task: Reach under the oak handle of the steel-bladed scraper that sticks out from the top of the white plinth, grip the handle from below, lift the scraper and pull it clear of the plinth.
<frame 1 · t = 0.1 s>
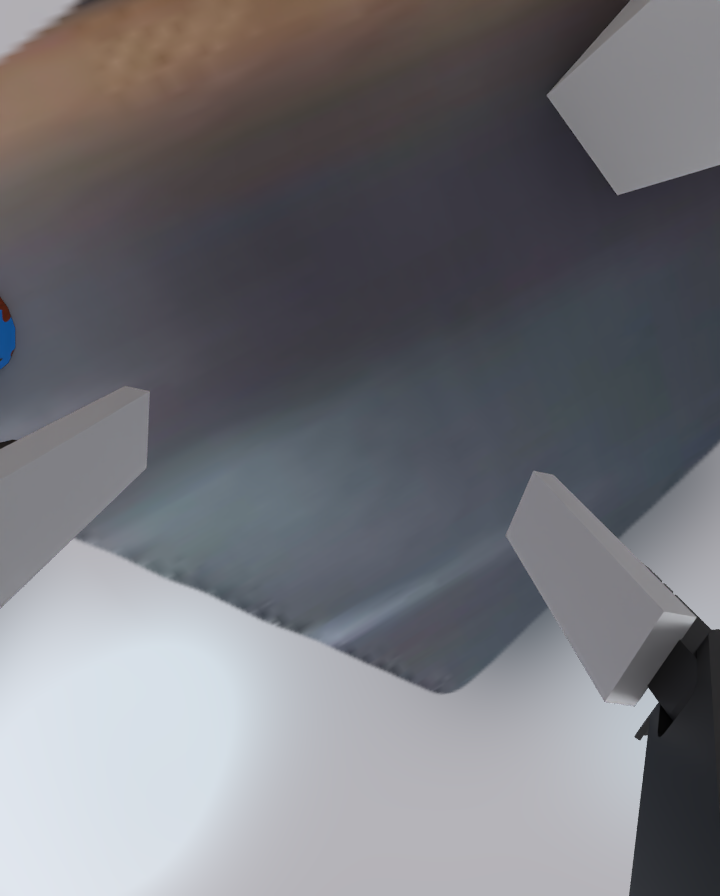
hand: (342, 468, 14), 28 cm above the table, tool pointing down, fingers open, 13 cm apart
plinth: (645, 80, 33), on the table
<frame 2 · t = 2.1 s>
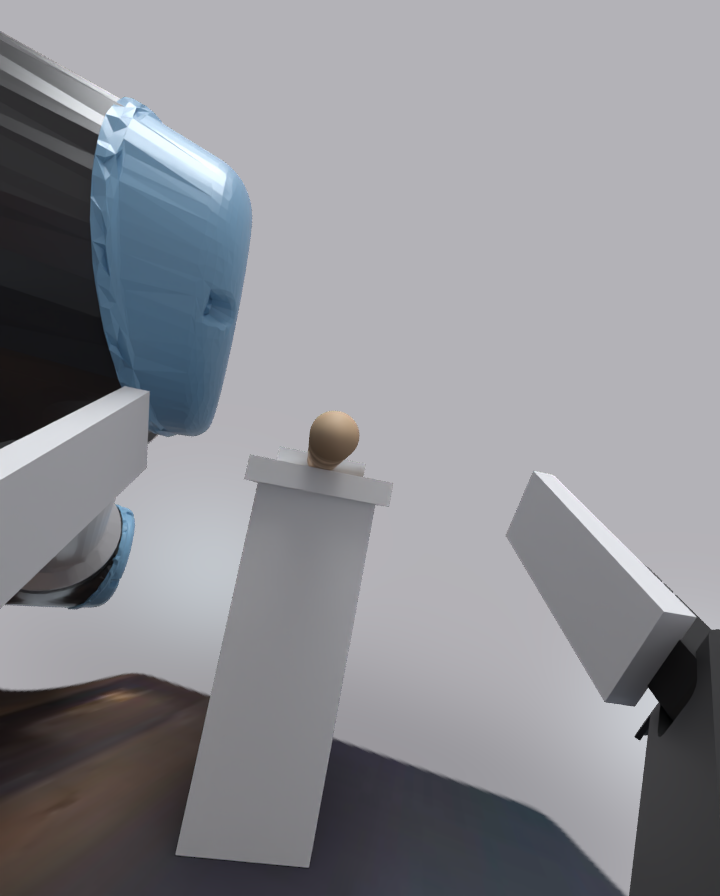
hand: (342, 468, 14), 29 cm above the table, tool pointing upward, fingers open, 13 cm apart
scraper: (319, 473, 42), point 30 cm above the table, touching plinth
plinth: (252, 803, 37), on the table
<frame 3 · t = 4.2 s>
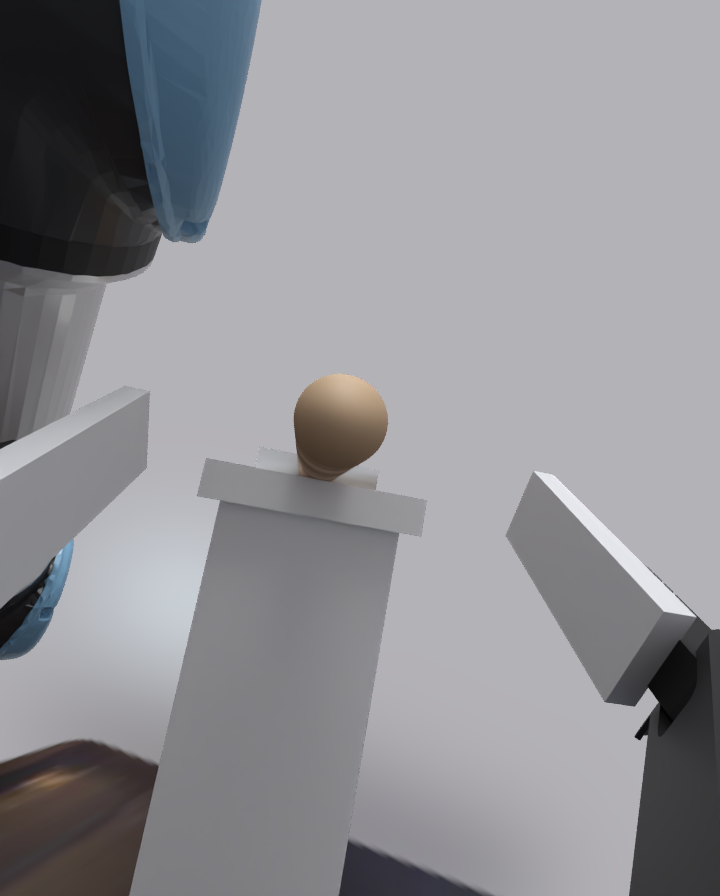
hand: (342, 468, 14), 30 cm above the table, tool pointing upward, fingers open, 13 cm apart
scraper: (315, 484, 30), point 30 cm above the table, touching plinth
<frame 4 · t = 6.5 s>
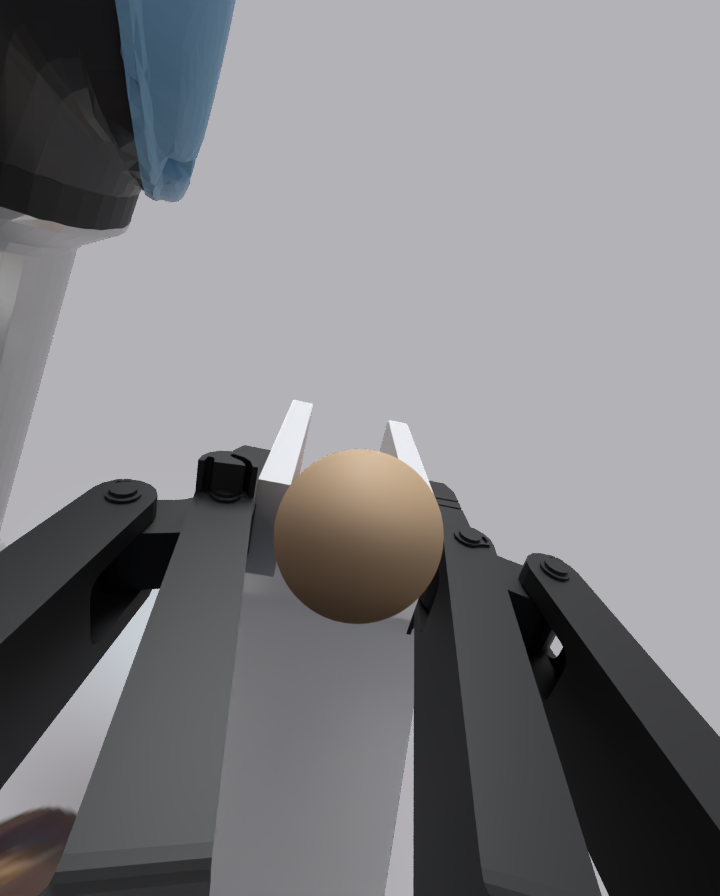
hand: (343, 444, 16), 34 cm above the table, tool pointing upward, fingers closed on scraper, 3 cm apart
scraper: (315, 535, 24), point 30 cm above the table, touching gripper, plinth
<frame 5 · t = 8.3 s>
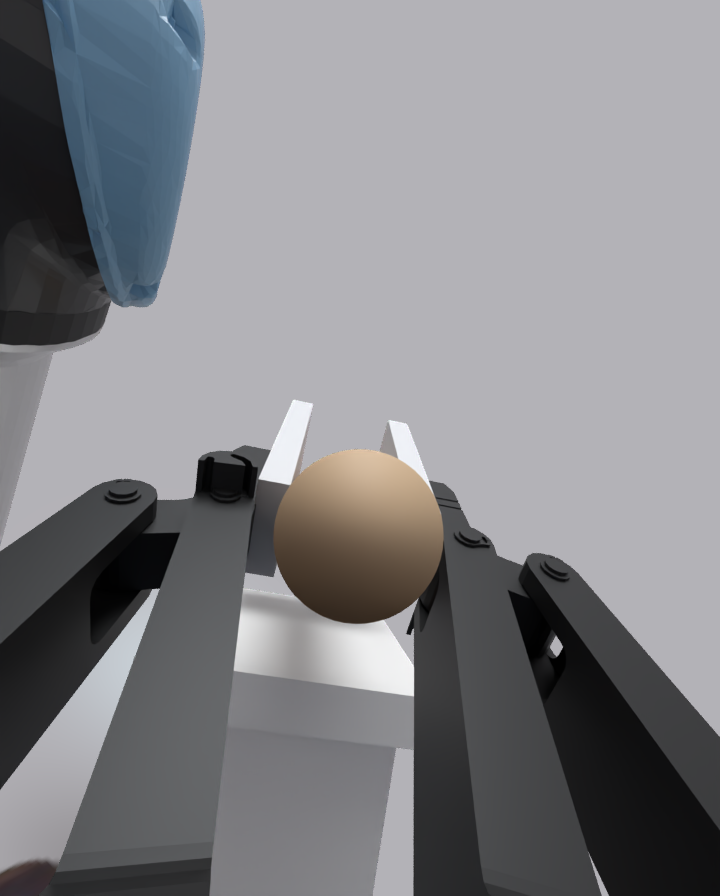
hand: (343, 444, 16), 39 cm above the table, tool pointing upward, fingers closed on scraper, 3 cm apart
scraper: (315, 535, 24), point 35 cm above the table, touching gripper
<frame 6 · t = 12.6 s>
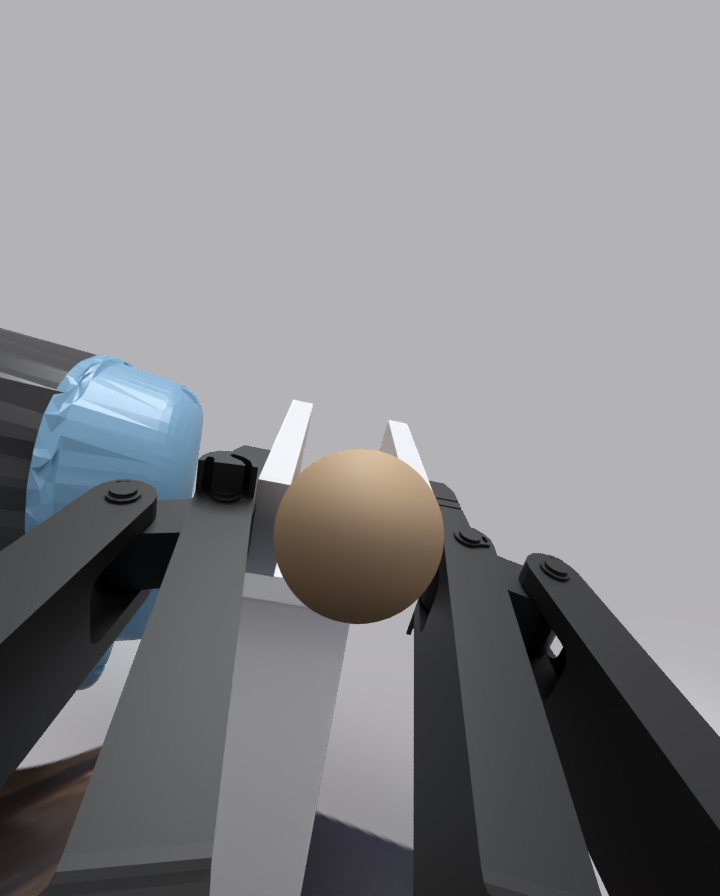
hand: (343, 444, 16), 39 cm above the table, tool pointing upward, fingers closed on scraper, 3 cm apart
scraper: (315, 534, 24), point 35 cm above the table, touching gripper
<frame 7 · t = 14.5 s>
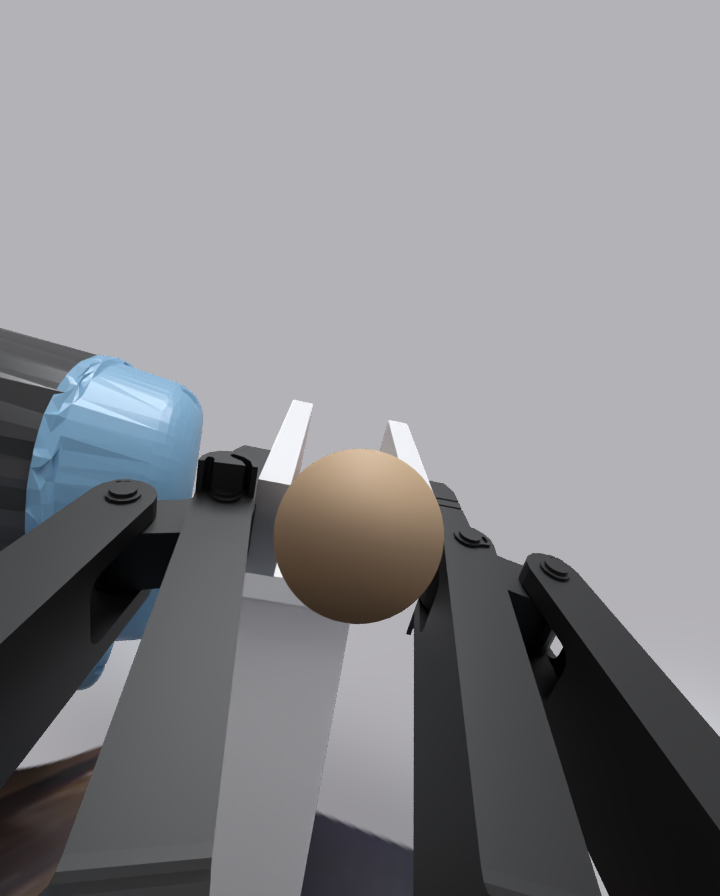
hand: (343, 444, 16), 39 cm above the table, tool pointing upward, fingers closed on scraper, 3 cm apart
scraper: (315, 534, 24), point 35 cm above the table, touching gripper
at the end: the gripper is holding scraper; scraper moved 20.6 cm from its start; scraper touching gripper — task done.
